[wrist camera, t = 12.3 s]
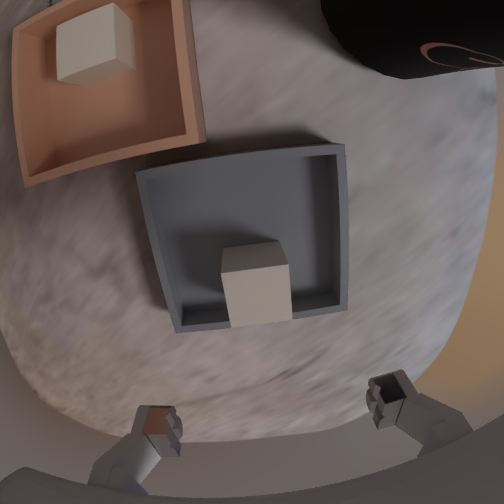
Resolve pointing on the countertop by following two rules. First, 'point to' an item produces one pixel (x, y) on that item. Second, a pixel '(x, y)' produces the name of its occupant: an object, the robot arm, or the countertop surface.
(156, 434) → the robot arm
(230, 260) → the stone
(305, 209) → the tray
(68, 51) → the cream cube
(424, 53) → the coffee jar
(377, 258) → the countertop surface
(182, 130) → the terracotta bin
